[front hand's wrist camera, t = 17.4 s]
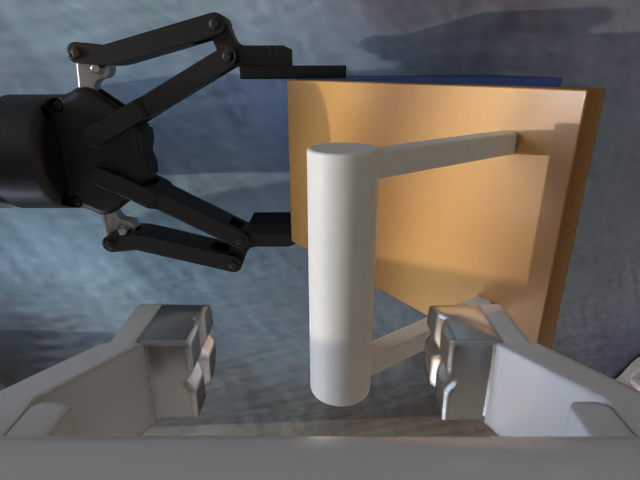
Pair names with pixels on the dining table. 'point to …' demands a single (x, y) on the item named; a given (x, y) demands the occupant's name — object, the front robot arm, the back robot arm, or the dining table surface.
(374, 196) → the lid
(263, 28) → the dining table surface
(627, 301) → the dining table surface
